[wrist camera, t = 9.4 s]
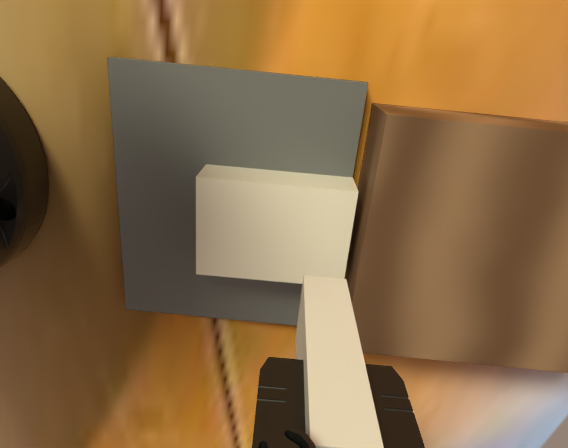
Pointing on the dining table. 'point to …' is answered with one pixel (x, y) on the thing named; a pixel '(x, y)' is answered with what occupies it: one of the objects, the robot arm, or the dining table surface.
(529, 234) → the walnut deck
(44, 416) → the dining table surface
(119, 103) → the charcoal mat
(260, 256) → the ceramic tile
